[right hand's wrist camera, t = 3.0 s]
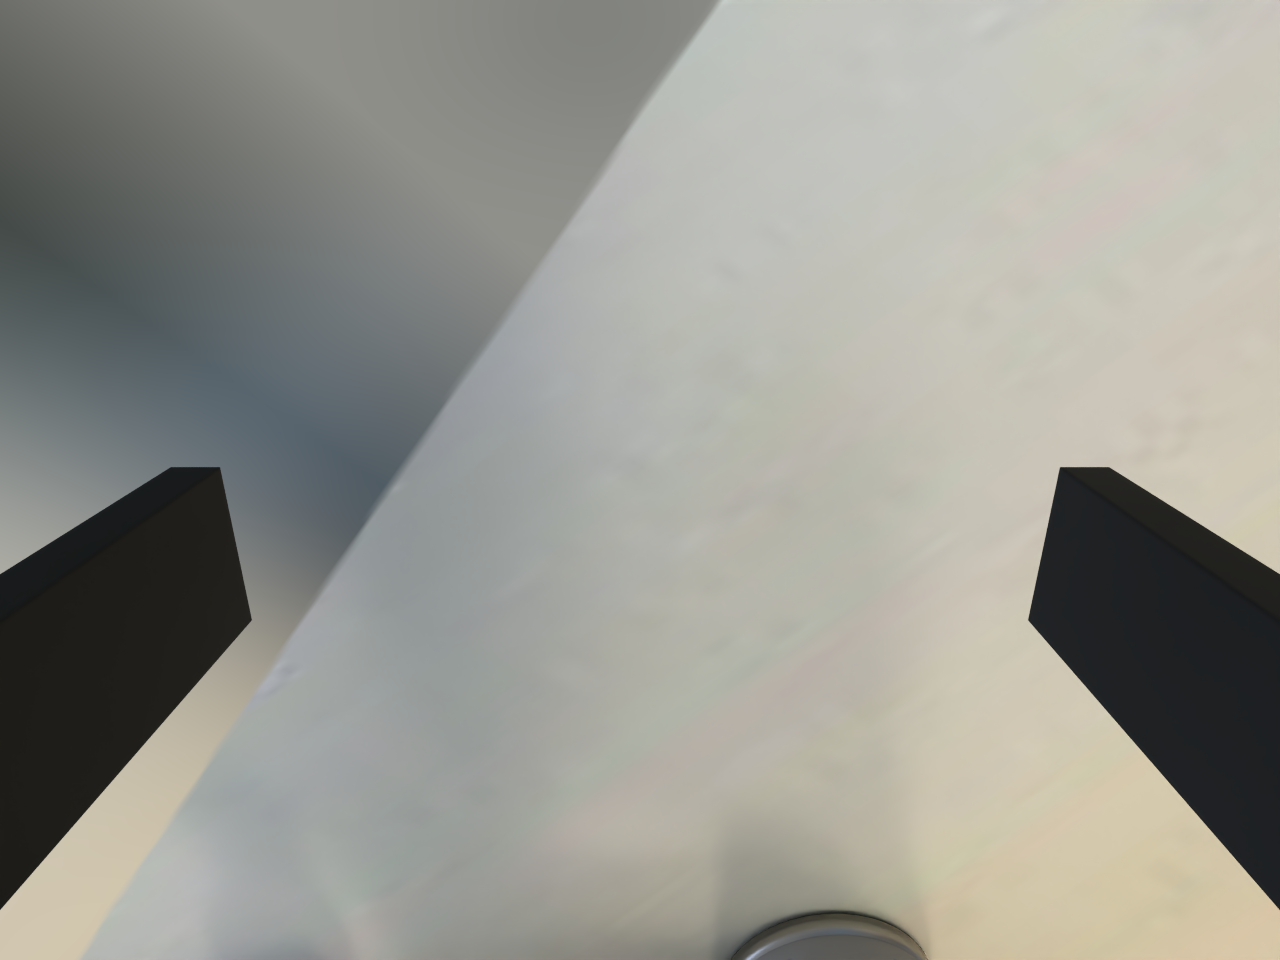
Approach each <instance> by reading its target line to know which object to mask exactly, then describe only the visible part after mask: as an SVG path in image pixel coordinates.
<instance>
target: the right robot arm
mask: <svg viewBox="0 0 1280 960" xmlns="http://www.w3.org/2000/svg"><path fill="white" fill-rule="evenodd" d="M251 620H252V619H251V614H250V609H249V604H248V600H247V595H246V590H245V585H244V581H243V576H242V571H241V566H240V561H239V556H238V552H237V547H236V542H235V537H234V532H233V528H232V523H231V518H230V513H229V509H228V504H227V499H226V494H225V489H224V485H223V480H222V475H221V470H220V467H171V468H169V469H167V470H166V471H164V472H163V473H161V474H159V475H158V476H156V477H155V478H153V479H151V480H150V481H148V482H147V483H145V484H143V485H142V486H140V487H139V488H137V489H135V490H134V491H132V492H131V493H129V494H128V495H126V496H124V497H123V498H121V499H120V500H118V501H116V502H115V503H113V504H112V505H110V506H108V507H107V508H105V509H104V510H102V511H100V512H99V513H97V514H96V515H94V516H92V517H91V518H89V519H88V520H86V521H84V522H83V523H81V524H80V525H78V526H76V527H75V528H73V529H72V530H70V531H69V532H67V533H65V534H64V535H62V536H61V537H59V538H57V539H56V540H54V541H53V542H51V543H49V544H48V545H46V546H45V547H43V548H41V549H40V550H38V551H37V552H35V553H33V554H32V555H30V556H29V557H27V558H26V559H24V560H22V561H21V562H19V563H17V564H16V565H14V566H13V567H11V568H10V569H8V570H6V571H5V572H3V573H2V574H0V909H1V908H2V907H3V906H4V905H5V904H6V903H7V901H8V900H9V899H10V898H11V897H12V896H13V894H14V893H15V892H16V891H17V890H18V889H19V888H20V886H21V885H22V884H23V883H24V882H25V881H26V880H27V878H28V877H29V876H30V875H31V874H32V873H33V871H34V870H35V869H36V868H37V867H38V866H39V865H40V863H41V862H42V861H43V860H44V859H45V858H46V857H47V855H48V854H49V853H50V852H51V851H52V850H53V848H54V847H55V846H56V845H57V844H58V843H59V841H60V840H61V839H62V838H63V837H64V836H65V835H66V833H67V832H68V831H69V830H70V829H71V828H72V827H73V825H74V824H75V823H76V822H77V821H78V820H79V818H80V817H81V816H82V815H83V814H84V813H85V812H86V810H87V809H88V808H89V807H90V806H91V805H92V804H93V802H94V801H95V800H96V799H97V798H98V797H99V796H100V794H101V793H102V792H103V791H104V790H105V789H106V787H107V786H108V785H109V784H110V783H111V782H112V780H113V779H114V778H115V777H116V776H117V775H118V774H119V772H120V771H121V770H122V769H123V768H124V767H125V766H126V764H127V763H128V762H129V761H130V760H131V759H132V757H133V756H134V755H135V754H136V753H137V752H138V751H139V749H140V748H141V747H142V746H143V745H144V744H145V743H146V741H147V740H148V739H149V738H150V737H151V736H152V734H153V733H154V732H155V731H156V730H157V729H158V728H159V726H160V725H161V724H162V723H163V722H164V721H165V719H166V718H167V717H168V716H169V715H170V714H171V713H172V711H173V710H174V709H175V708H176V707H177V706H178V705H179V703H180V702H181V701H182V700H183V699H184V698H185V696H186V695H187V694H188V693H189V692H190V691H191V690H192V688H193V687H194V686H195V685H196V684H197V683H198V682H199V680H200V679H201V678H202V677H203V676H204V675H205V673H206V672H207V671H208V670H209V669H210V668H211V667H212V665H213V664H214V663H215V662H216V661H217V660H218V658H219V657H220V656H221V655H222V654H223V653H224V652H225V650H226V649H227V648H228V647H229V646H230V645H231V643H232V642H233V641H234V640H235V639H236V638H237V637H238V635H239V634H240V633H241V632H242V631H243V630H244V628H245V627H246V626H247V625H248V624H249V623H250V622H251ZM1028 620H1029V622H1030V623H1031V624H1032V625H1033V626H1034V627H1035V629H1036V630H1037V631H1038V632H1039V633H1040V634H1041V635H1042V637H1043V638H1044V639H1045V640H1046V641H1047V642H1048V644H1049V645H1050V646H1051V647H1052V648H1053V649H1054V650H1055V652H1056V653H1057V654H1058V655H1059V656H1060V657H1061V658H1062V660H1063V661H1064V662H1065V663H1066V664H1067V665H1068V667H1069V668H1070V669H1071V670H1072V671H1073V672H1074V673H1075V675H1076V676H1077V677H1078V678H1079V679H1080V680H1081V682H1082V683H1083V684H1084V685H1085V686H1086V687H1087V688H1088V690H1089V691H1090V692H1091V693H1092V694H1093V695H1094V696H1095V698H1096V699H1097V700H1098V701H1099V702H1100V703H1101V705H1102V706H1103V707H1104V708H1105V709H1106V710H1107V711H1108V713H1109V714H1110V715H1111V716H1112V717H1113V718H1114V720H1115V721H1116V722H1117V723H1118V724H1119V725H1120V726H1121V728H1122V729H1123V730H1124V731H1125V732H1126V733H1127V734H1128V736H1129V737H1130V738H1131V739H1132V740H1133V741H1134V743H1135V744H1136V745H1137V746H1138V747H1139V748H1140V749H1141V751H1142V752H1143V753H1144V754H1145V755H1146V756H1147V758H1148V759H1149V760H1150V761H1151V762H1152V763H1153V764H1154V766H1155V767H1156V768H1157V769H1158V770H1159V771H1160V772H1161V774H1162V775H1163V776H1164V777H1165V778H1166V779H1167V781H1168V782H1169V783H1170V784H1171V785H1172V786H1173V787H1174V789H1175V790H1176V791H1177V792H1178V793H1179V794H1180V796H1181V797H1182V798H1183V799H1184V800H1185V801H1186V802H1187V804H1188V805H1189V806H1190V807H1191V808H1192V809H1193V810H1194V812H1195V813H1196V814H1197V815H1198V816H1199V817H1200V819H1201V820H1202V821H1203V822H1204V823H1205V824H1206V825H1207V827H1208V828H1209V829H1210V830H1211V831H1212V832H1213V833H1214V835H1215V836H1216V837H1217V838H1218V839H1219V840H1220V842H1221V843H1222V844H1223V845H1224V846H1225V847H1226V848H1227V850H1228V851H1229V852H1230V853H1231V854H1232V855H1233V857H1234V858H1235V859H1236V860H1237V861H1238V862H1239V863H1240V865H1241V866H1242V867H1243V868H1244V869H1245V870H1246V871H1247V873H1248V874H1249V875H1250V876H1251V877H1252V878H1253V880H1254V881H1255V882H1256V883H1257V884H1258V885H1259V886H1260V888H1261V889H1262V890H1263V891H1264V892H1265V893H1266V895H1267V896H1268V897H1269V898H1270V899H1271V900H1272V901H1273V903H1274V904H1275V905H1276V906H1277V907H1278V908H1279V909H1280V574H1278V573H1277V572H1275V571H1274V570H1272V569H1270V568H1269V567H1267V566H1266V565H1264V564H1263V563H1261V562H1259V561H1258V560H1256V559H1255V558H1253V557H1251V556H1250V555H1248V554H1247V553H1245V552H1243V551H1242V550H1240V549H1239V548H1237V547H1235V546H1234V545H1232V544H1231V543H1229V542H1227V541H1226V540H1224V539H1223V538H1221V537H1219V536H1218V535H1216V534H1215V533H1213V532H1211V531H1210V530H1208V529H1207V528H1205V527H1204V526H1202V525H1200V524H1199V523H1197V522H1196V521H1194V520H1192V519H1191V518H1189V517H1188V516H1186V515H1184V514H1183V513H1181V512H1180V511H1178V510H1176V509H1175V508H1173V507H1172V506H1170V505H1168V504H1167V503H1165V502H1164V501H1162V500H1160V499H1159V498H1157V497H1156V496H1154V495H1152V494H1151V493H1149V492H1148V491H1146V490H1145V489H1143V488H1141V487H1140V486H1138V485H1137V484H1135V483H1133V482H1132V481H1130V480H1129V479H1127V478H1125V477H1124V476H1122V475H1121V474H1119V473H1117V472H1116V471H1114V470H1113V469H1111V468H1109V467H1060V470H1059V475H1058V480H1057V485H1056V489H1055V494H1054V499H1053V504H1052V508H1051V513H1050V518H1049V523H1048V528H1047V532H1046V537H1045V542H1044V547H1043V552H1042V556H1041V561H1040V566H1039V571H1038V576H1037V580H1036V585H1035V590H1034V595H1033V599H1032V604H1031V609H1030V614H1029V619H1028ZM731 960H928V959H927V957H926V955H925V954H924V952H923V951H922V949H921V948H920V947H919V946H918V944H917V943H916V942H915V941H914V940H912V939H911V938H910V937H909V936H908V935H906V934H905V933H904V932H902V931H900V930H899V929H897V928H895V927H893V926H891V925H889V924H887V923H884V922H882V921H879V920H876V919H872V918H868V917H864V916H858V915H851V914H819V915H811V916H806V917H801V918H797V919H793V920H790V921H787V922H784V923H781V924H778V925H776V926H774V927H771V928H769V929H767V930H765V931H764V932H762V933H760V934H759V935H757V936H755V937H754V938H753V939H751V940H750V941H749V942H747V943H746V944H745V945H744V946H743V947H742V948H740V950H739V951H738V952H737V953H736V954H735V955H734V956H733V958H732V959H731Z"/></svg>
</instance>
